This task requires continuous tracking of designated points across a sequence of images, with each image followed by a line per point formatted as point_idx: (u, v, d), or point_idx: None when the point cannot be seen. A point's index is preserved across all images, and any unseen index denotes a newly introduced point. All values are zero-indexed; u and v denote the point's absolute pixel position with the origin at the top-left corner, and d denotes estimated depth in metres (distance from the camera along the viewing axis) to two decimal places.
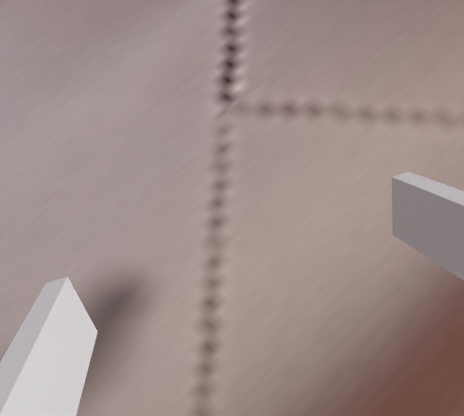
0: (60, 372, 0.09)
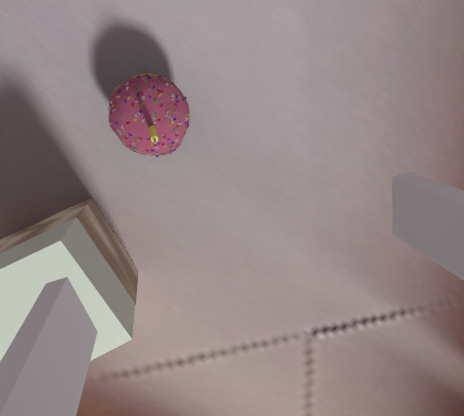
0: (60, 372, 0.09)
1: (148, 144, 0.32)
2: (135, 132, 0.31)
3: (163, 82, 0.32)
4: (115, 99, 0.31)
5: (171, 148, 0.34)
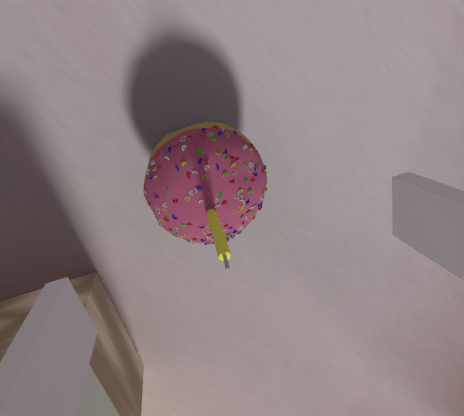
0: (60, 372, 0.09)
1: (199, 233, 0.21)
2: (184, 215, 0.20)
3: (240, 143, 0.20)
4: (161, 160, 0.19)
5: (229, 236, 0.22)
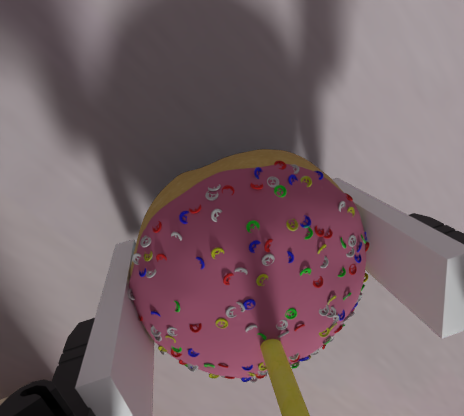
0: None
1: (241, 374, 0.10)
2: (212, 352, 0.09)
3: (331, 198, 0.09)
4: (164, 240, 0.09)
5: None
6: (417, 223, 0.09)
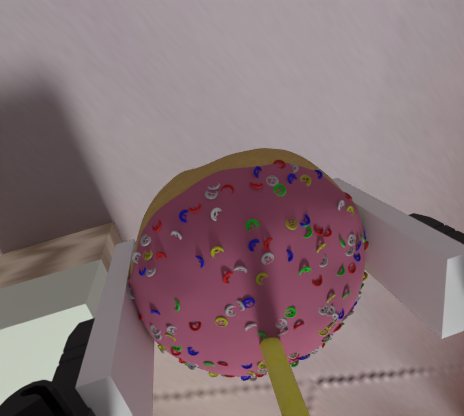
0: None
1: (241, 373, 0.10)
2: (212, 350, 0.09)
3: (330, 196, 0.09)
4: (163, 239, 0.09)
5: None
6: (417, 223, 0.09)
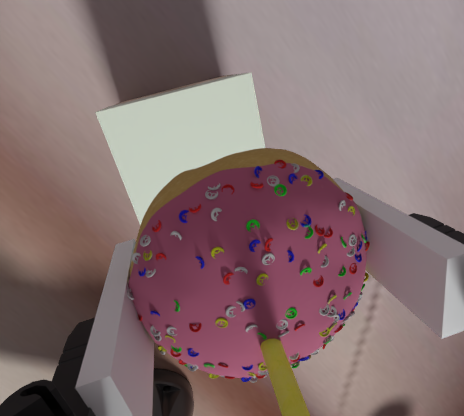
0: None
1: (241, 374, 0.10)
2: (212, 352, 0.09)
3: (332, 197, 0.09)
4: (163, 239, 0.09)
5: None
6: (417, 223, 0.09)
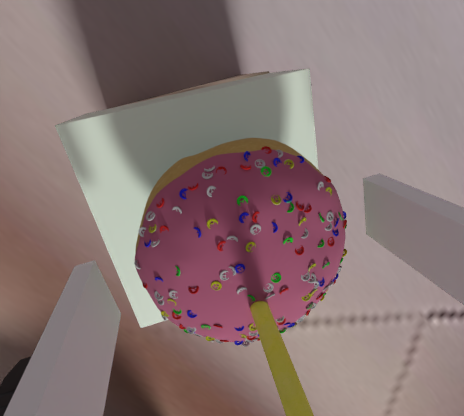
0: (94, 345, 0.10)
1: (234, 336, 0.12)
2: (208, 313, 0.11)
3: (311, 178, 0.11)
4: (166, 214, 0.10)
5: None
6: None
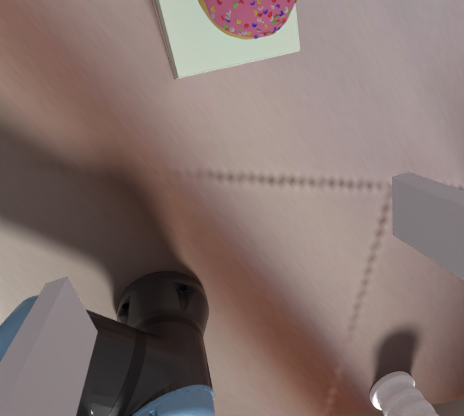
0: (60, 372, 0.09)
1: (251, 14, 0.22)
2: None
3: None
4: None
5: (276, 24, 0.24)
6: None
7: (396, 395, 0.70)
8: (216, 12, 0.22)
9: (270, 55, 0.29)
